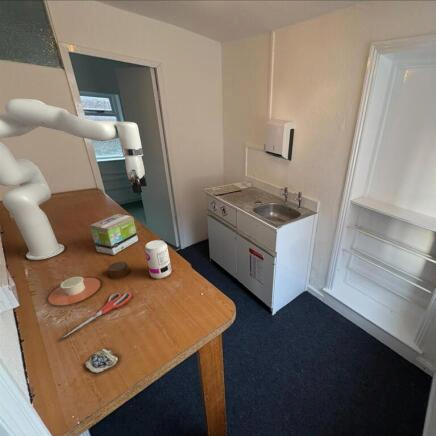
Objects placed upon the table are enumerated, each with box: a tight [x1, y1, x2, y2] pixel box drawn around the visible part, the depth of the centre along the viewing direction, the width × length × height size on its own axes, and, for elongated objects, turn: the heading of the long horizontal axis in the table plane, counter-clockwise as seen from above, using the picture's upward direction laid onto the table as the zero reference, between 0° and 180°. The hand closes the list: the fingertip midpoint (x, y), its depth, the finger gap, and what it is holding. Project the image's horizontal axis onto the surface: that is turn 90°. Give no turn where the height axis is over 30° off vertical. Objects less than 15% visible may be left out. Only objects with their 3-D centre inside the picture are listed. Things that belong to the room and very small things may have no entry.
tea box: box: [89, 213, 139, 256], centre depth 115 cm, size 15×10×15 cm
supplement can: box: [144, 239, 172, 280], centre depth 99 cm, size 8×8×15 cm
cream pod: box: [60, 276, 85, 296], centre depth 88 cm, size 6×6×4 cm
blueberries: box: [84, 348, 119, 374], centre depth 66 cm, size 7×8×2 cm
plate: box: [47, 277, 101, 306], centre depth 89 cm, size 15×15×1 cm
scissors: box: [63, 291, 133, 338], centre depth 80 cm, size 8×21×2 cm, turn 170°
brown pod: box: [107, 261, 129, 279], centre depth 99 cm, size 7×7×4 cm
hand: (140, 189), depth 109 cm, fingers open, 9 cm apart
